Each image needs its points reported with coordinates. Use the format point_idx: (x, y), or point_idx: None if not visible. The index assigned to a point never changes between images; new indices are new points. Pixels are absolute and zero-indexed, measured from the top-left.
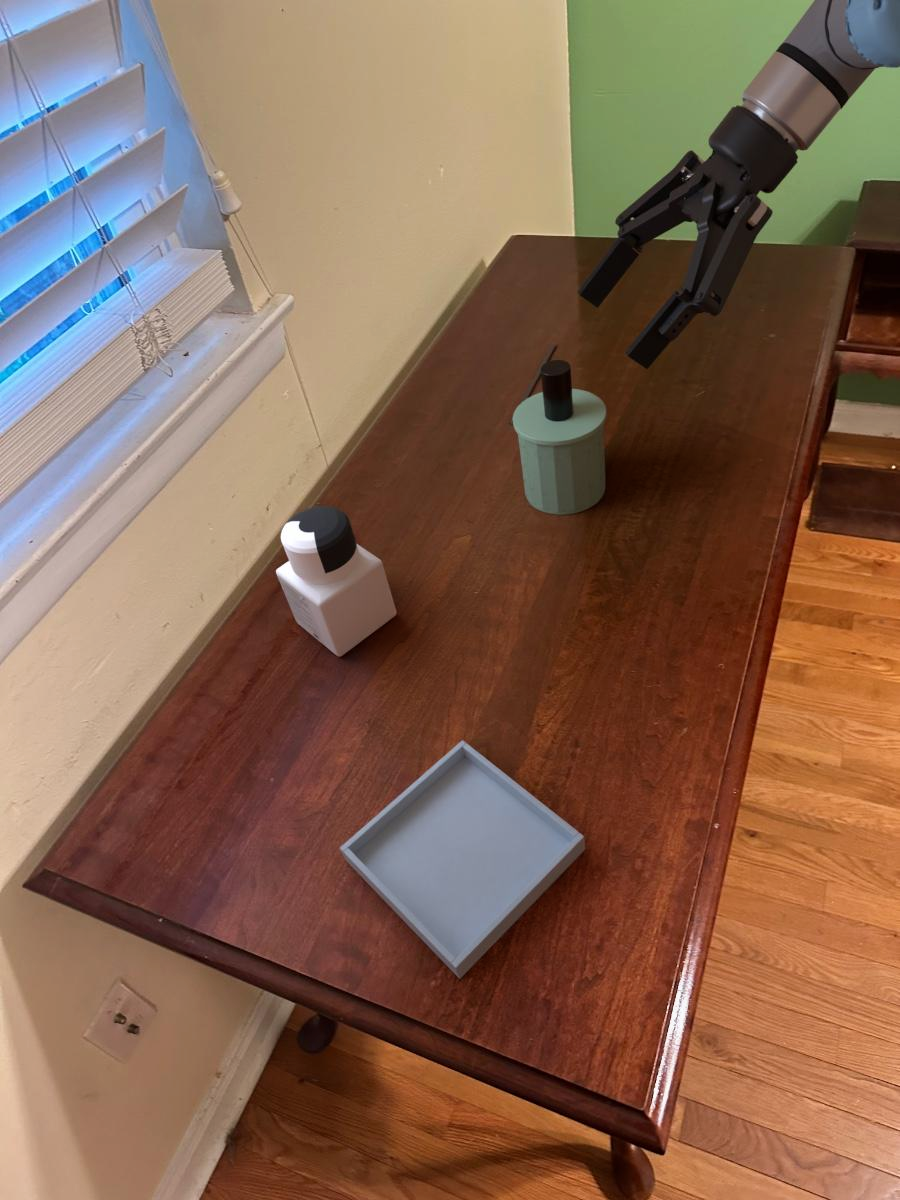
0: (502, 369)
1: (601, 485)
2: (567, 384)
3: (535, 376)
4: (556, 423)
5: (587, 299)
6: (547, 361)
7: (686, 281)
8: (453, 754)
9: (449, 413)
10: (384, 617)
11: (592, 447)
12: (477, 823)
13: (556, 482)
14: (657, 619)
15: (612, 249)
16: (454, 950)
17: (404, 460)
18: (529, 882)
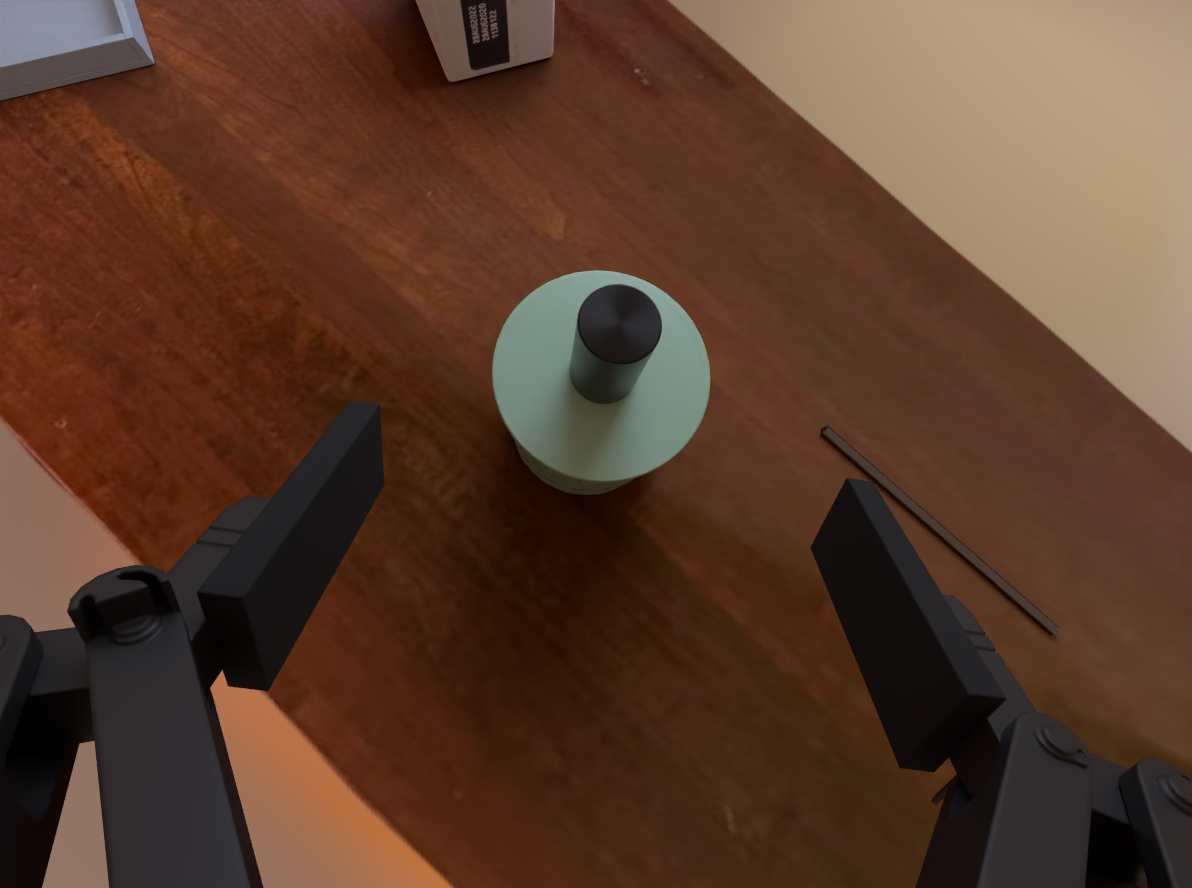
0: (1016, 497)
1: (526, 462)
2: (577, 351)
3: (953, 538)
4: (569, 348)
5: (832, 508)
6: (1000, 589)
7: (172, 678)
8: (119, 19)
9: (914, 346)
10: (438, 53)
11: None
12: (35, 25)
13: None
14: (206, 393)
15: (953, 642)
16: None
17: (812, 227)
18: None
